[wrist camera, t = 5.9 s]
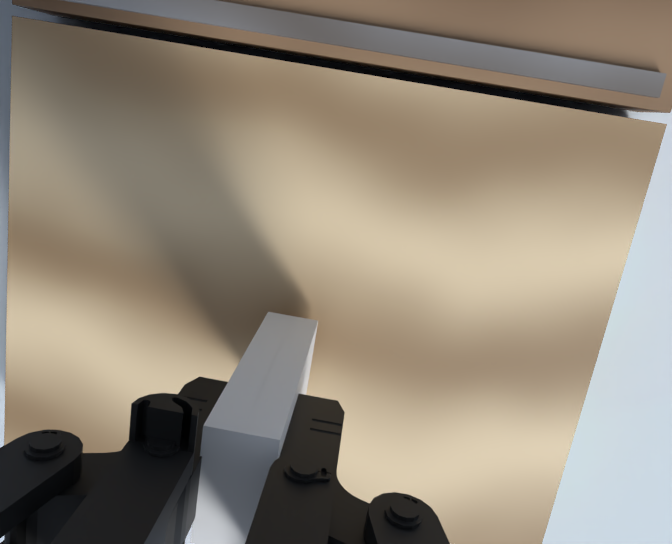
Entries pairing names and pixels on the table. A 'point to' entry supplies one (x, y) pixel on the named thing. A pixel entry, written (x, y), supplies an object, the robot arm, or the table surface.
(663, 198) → the table surface
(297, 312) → the oak plank
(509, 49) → the walnut board
